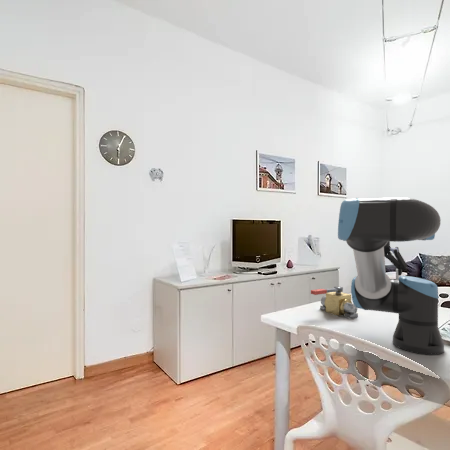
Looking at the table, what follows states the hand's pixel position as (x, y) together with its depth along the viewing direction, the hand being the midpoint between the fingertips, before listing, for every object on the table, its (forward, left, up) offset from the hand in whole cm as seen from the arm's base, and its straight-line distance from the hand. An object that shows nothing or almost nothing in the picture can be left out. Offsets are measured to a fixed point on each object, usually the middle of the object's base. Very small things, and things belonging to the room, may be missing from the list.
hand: (380, 276), depth 145 cm
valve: (-2, +18, -19) cm, 26 cm away
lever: (-9, +21, -8) cm, 24 cm away
